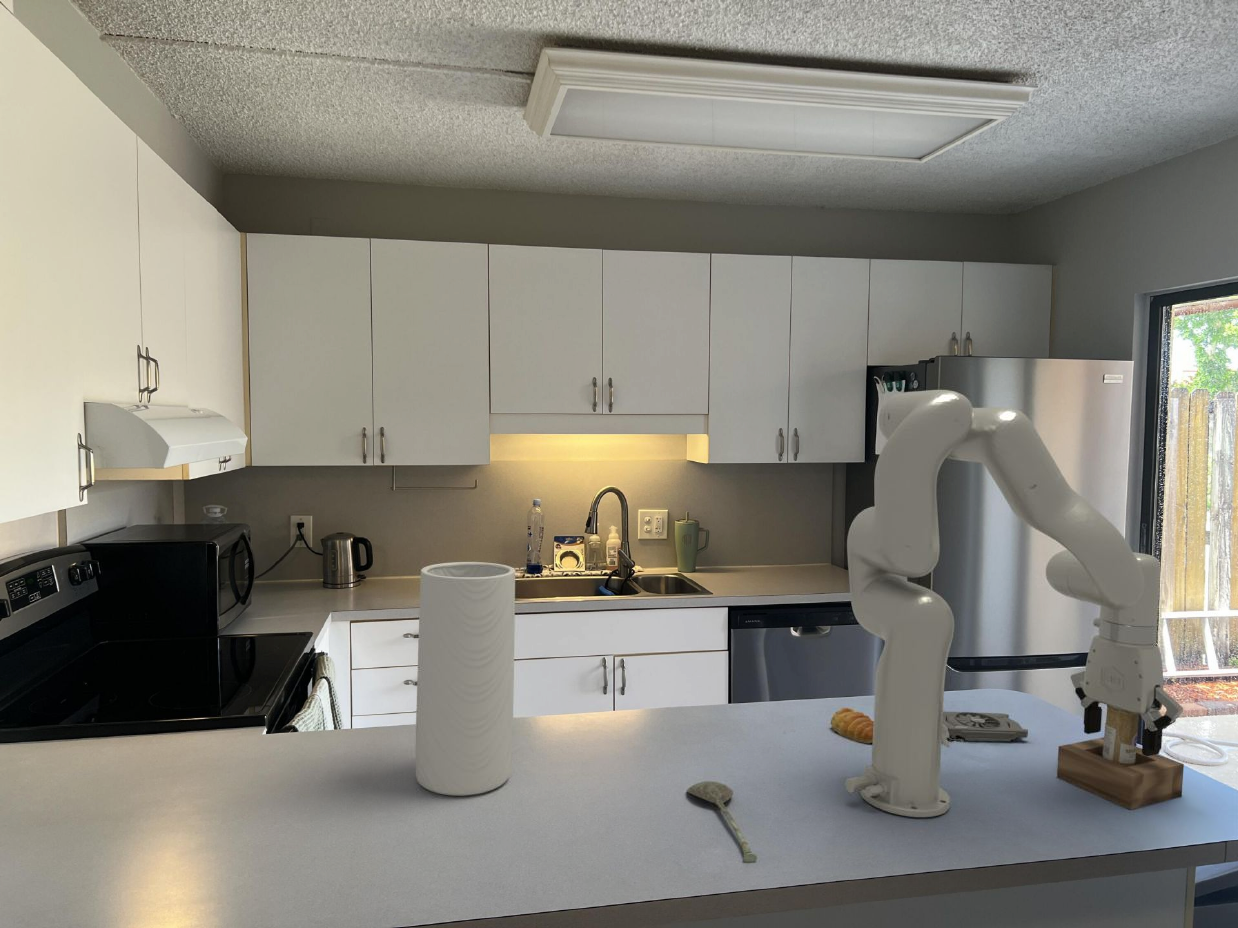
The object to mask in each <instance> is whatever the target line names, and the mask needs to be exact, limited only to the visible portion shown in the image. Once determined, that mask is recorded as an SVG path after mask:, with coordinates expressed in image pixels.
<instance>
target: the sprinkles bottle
mask: <svg viewBox="0 0 1238 928" xmlns="http://www.w3.org/2000/svg"><path fill="white" fill-rule="evenodd" d="M1139 715H1140V714H1134V713H1130V712H1127V711H1124V710H1121V709H1118V708H1115V707H1112V706H1109V705H1106V718H1105V724H1104V734H1103V737H1104V745H1103V758H1106V759H1108V760H1111V761H1113V762H1116V763H1118V764H1121V765H1123V766H1126V767H1129V766H1134V764H1135V757H1136V747H1137V744H1138V743H1137V742H1138V728H1139V727H1138V726H1139Z"/></svg>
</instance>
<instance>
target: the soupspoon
mask: <svg viewBox="0 0 1238 928" xmlns="http://www.w3.org/2000/svg"><path fill="white" fill-rule="evenodd" d="M686 792H687V793H688V794H690V795H691V794H692V796H693V795H694V796H696V797H698V798H701V799H703V800H704V801H705V800H706V801H708V802H709V803H713V804H715V805H716V806H717V807H718V808H719V809H720V810H721V812H722V813H723V815H724V817H725V818H726V820H727V821H728V823H729V825H730V827H732V829H733V831H734V833H735V834H736V836H737V838H738V840H739V842H740V844H739V845H740V847H741V849H742V852H743V857H742V862H744V863H752V862H756V861H757V860H758V858H757V855H756V853H754V852H753V851H751V848H750V847H749V845H748V842H747V841H746V840H745V838H744V836H743V834H742V831H741V829H740V828H739V827H738V825H737V823H736V822H735V820H734V818H733V817H732V815H731V813H730V812H729V810H728V809H727V807H726V806H725V805H724V803H725V802H727V801H728V800H730V799H731V797H732V796H733V794H734V790H733V789H732V788H730V787H729V786H728V785H726V784H724V783H721V782H719V781H708V780H705V781H702V782H698V783H695V784H693V785H691V786H689V788H688V789H686Z"/></svg>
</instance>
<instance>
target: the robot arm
mask: <svg viewBox="0 0 1238 928" xmlns="http://www.w3.org/2000/svg"><path fill="white" fill-rule="evenodd" d="M878 427H879V428H880V432H881V433H882V435H883V436H884V438H885V439H886V442H885V444H884V445H883V447H882V449H881V451H880V452H879V453H880V454H879V456H878V458H877V462H876V464H875V470H874V479H873V481H874V484H873V485H874V488H873V489H874V506H870V507H868V508H865V509H863V510H862V511H861V512H859V513H858V514H857V515H856V516H855V518H854V519H853V521H852V522H851V525H850V527H849V530H848V534H847V539H846V540H847V541H846V549H847V551H846V552H847V567H848V569H847V570H848V580H849V581H848V582H849V592H850V593H849V595H850V603H851V608H852V612H853V614H854V617H855V619H856V621H857V622H858V624H859V625H860V626H861V627H862V628H863V629H864V630H866V631H867V632H868V633H870V634H871V635H872V634H873V635H874V636H876V637H878V638H881V640H883V641H884V647H883V649H882V652H881V654H880V657H879V660H878V662H877V666H876V671H875V681H874V703H873V704H874V706H873V707H874V708H873V721H874V724H873V742H872V747H871V748H872V750H871V752H872V754H871V764H870V765H866V766H865V773H862V775H860V777H859V776H854V777H850V778H846V780H845V783H844V786H845V789H846V791H847V792H849V794H850V793H858V792H859V793H860V796H861V797H862V798H863V800H864V801H866V802H867V803H868V804H870V805H872V806H873V807H875V808H876V809H879V810H881V811H885V812H886V813H889V814H894V815H899V816H903V817H911V818H932V817H937V816H940V815H943V814H945V813H946V812H947V811H949V809H950V807H951V806H950V805H951V798H950V795H949V794H948V792H947V791H945V790H944V789H943V787H941V786H940V776H941V760H942V759H941V758H942V757H941V756H942V755H941V754H942V742H941V741H942V721H943V711H944V699H945V698H944V695H945V682H946V681H945V680H946V671H947V664H948V663H947V662H948V659H949V658H948V657H949V653H950V649H951V647H952V642H953V638H954V632H955V618H954V615H953V612H952V609H951V607H950V605H949V604H948V602H947V601H946V600H945V599H944V598H943V597H942V596H941V595H940V594H938V593H936V592H935V591H933V590H931V589H930V588H927V587H924V586H923V585H919V584H917V583H914V582H910V581H908V578H921V577H925V576H926V575H928V574H929V573H931V572H932V571H933V570H934V569H935V567H936V566H937V564H938V561H939V557H940V551H941V549H940V547H941V546H940V534H939V533H940V532H939V531H940V530H939V518H938V517H939V515H938V502H937V483H938V475H939V471H940V469H941V467H942V464H943V463H944V462H945V461H944V460H946V458H947V459H949V460H950V459H951V460H957V461H962V462H968V463H969V462H970V463H979V464H980V463H982V464H983V466H985V468H986V470H987V471H988V473H989V475H990V476H991V477H992V479H993V481H994V482H995V484H996V486H997V488H998V489H999V491H1000V492H1001V494H1002V495H1003V497H1004V499H1005V501H1006V502H1007V504H1008V505H1009V506H1008V507H1009V508H1010V509H1011V511H1012V512H1013V514H1014V515H1015V516H1016V517H1018V519H1020V520H1022V521H1023V523H1026V524H1027V525H1028V526H1030V527H1031V528H1033V529H1035V530H1036V531H1039V532H1040V533H1043V534H1044V535H1046V536H1047V537H1050V538H1051V539H1053V540H1054V541H1056V542H1057V543H1058V544H1060V545H1062V547H1064V548H1065V550H1061V551H1059V552H1057V553H1055V554H1054V555H1053V556H1052V557H1051V558H1050V559H1049V561H1048V562H1047V564H1046V567H1045V577H1046V580H1047V582H1048V584H1049V585H1050V587H1051V588H1052V589H1054V590H1055V592H1057V593H1060V594H1061V595H1063V596H1065V597H1069V598H1071V599H1075V600H1079V601H1080V602H1081V601H1082V602H1087V603H1090V604H1094V605H1097V606H1099V607H1100V614H1099V618H1098V617H1096V618H1094V619H1093V623H1092V624H1093V626H1094V627H1097V628H1098V635H1094V636H1093V638H1092V641H1091V643H1090V646H1089V650H1088V654H1087V659H1086V664H1085V670H1084V671H1081V672H1077V673H1073V674H1071V675H1070V680H1071V682H1072V684H1073V687H1074V688H1075V690H1074V693H1075V694H1076V696H1077V697H1078V698H1079V700H1080V706H1081V707H1082V708H1084V711H1083V726H1084V727H1083V733H1085V734H1087V735H1092V734H1096V733H1100V732H1101V731H1102V718H1103V716H1102V715H1103V709H1102V707H1101V706H1099V705H1100V704H1102V705H1103V704H1104V705H1106V706H1107V705H1109V706H1112V707H1115V708H1118V709H1121V710H1124V711H1127V712H1130V713H1134V714H1139V715H1140V716H1141V718H1142V720H1143V722H1144V724H1145V725H1146V727H1147V728H1144V729H1143V730H1142V732H1143V733H1142V745H1141V746H1142V747H1141V749H1142V754H1143V755H1145V756H1151V755H1156V754H1158V755H1160V754H1159V753H1160V751H1161V750H1162V744H1163V743H1162V742H1163V731H1164V730H1165V729H1167V728H1168V727H1169V726H1171V725H1173V724H1174V723H1175V722H1176V721H1177V719H1178V718H1179V717H1180V715H1181V714H1182V713H1183V712H1184V708H1183V706H1182V705H1180V703H1178V702H1177V701H1176V700H1175V699H1174V698H1173V697H1172V696H1171V695H1169V694H1168V692H1166V691H1165V690H1164V669H1163V668H1164V667H1163V660H1162V655H1161V649H1160V647H1159V646H1157V631H1158V630H1157V629H1158V616H1159V615H1158V612H1159V611H1158V610H1159V598H1160V597H1159V595H1160V586H1161V585H1160V582H1161V581H1160V580H1161V563H1160V561H1159V560H1158V558H1157V557H1155V556H1153V555H1151V554H1147V553H1141V552H1135V551H1133V550H1132V549H1131V546H1130V545H1129V543H1128V541H1127V540H1126V538H1125V537H1124V536H1123V534H1122V533H1121V532H1120V531H1119V529H1118V528H1117V527H1116V526H1115V525H1114V524H1113V523H1112V522H1111V521H1110V520H1109V519H1107V518H1106V517H1105V515H1103V514H1102V513H1101V512H1100V511H1099V510H1098V509H1096V508H1095V507H1094V505H1091V503H1090V502H1088V501H1087V500H1086V499H1085V498H1083V496H1082V495H1080V494H1079V493H1077V492H1076V491H1075V490H1074V489H1073V488H1072V487H1071V486H1070V484H1069V483H1068V481H1067V480H1066V478H1065V476H1064V475H1063V473H1062V471H1061V469H1060V467H1058V464H1057V463H1056V461H1055V460H1054V458H1053V456H1052V455H1051V453H1050V451H1049V449H1048V447H1047V446H1046V444H1045V442H1044V441H1043V439H1042V437H1041V436H1040V434H1039V433H1038V430H1037V429H1036V427H1035V426H1034V424H1033V422H1032V421H1031V419H1030V418H1029V417H1028V416H1027V415H1026V414H1025V413H1024V412H1022V411H1020V410H1018V409H1015V408H1012V407H973V405H972V403H971V401H970V400H969V398H967V397H966V396H965V395H964V394H961V393H959V392H957V391H954V390H949V389H932V390H930V389H929V390H928V389H927V390H921V391H920V390H918V391H905V392H900V393H897V394H894V395H893V396H891V397H890V398H888V399H887V400H886V401H885V403H884V404H883V405H882V407H881V409H880V411H879V414H878ZM1162 707H1165V709H1166V711H1165V713H1164V714H1162V713H1161V711H1160V710H1161V709H1162Z"/></svg>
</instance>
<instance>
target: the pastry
mask: <svg viewBox="0 0 1238 928" xmlns="http://www.w3.org/2000/svg"><path fill="white" fill-rule="evenodd" d="M873 724H874V720H873V719H871V718H870V717H869V715H867V714H864V712H861V711H855V710H854V709H852V708H849V707H843V708H840V709H839V710H837V711H836V712H835V713H834V714H833V715H832V717H831V719H830V725H831V727H832V729H833V731H834V732H837V733H838V734H839V735H840V736H842V737H845V738H847V739H849V740H852V741H854V742H857V743H863V744H871V743H872V744H873Z"/></svg>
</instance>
